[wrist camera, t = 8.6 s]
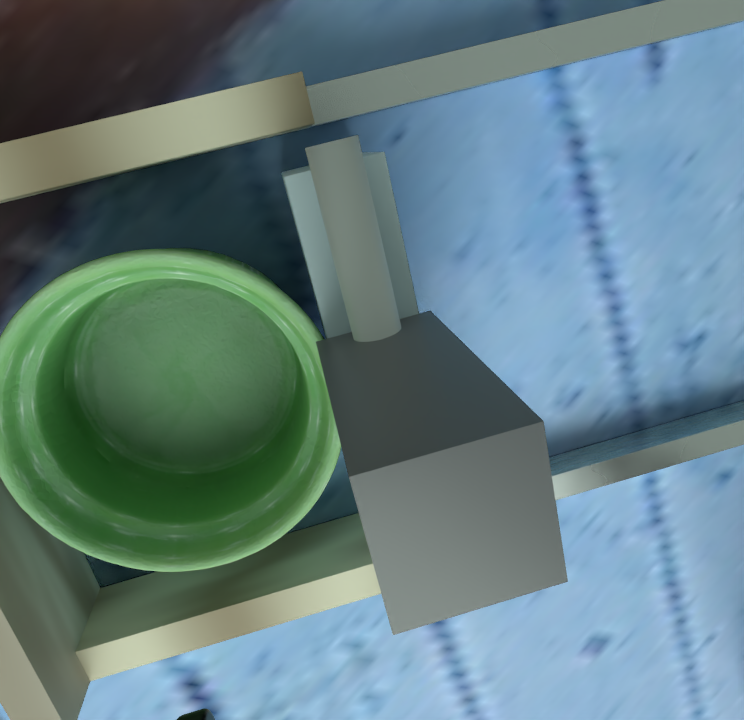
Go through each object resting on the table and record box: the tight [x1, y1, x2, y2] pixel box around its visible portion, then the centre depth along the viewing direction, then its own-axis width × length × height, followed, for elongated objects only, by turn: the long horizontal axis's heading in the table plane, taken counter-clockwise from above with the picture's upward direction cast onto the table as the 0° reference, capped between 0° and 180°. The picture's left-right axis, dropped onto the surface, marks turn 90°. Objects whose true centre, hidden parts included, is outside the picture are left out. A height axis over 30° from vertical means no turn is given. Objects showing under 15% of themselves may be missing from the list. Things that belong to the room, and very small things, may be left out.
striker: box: [281, 135, 568, 635], centre depth 15 cm, size 3×12×11 cm, turn 13°
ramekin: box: [0, 248, 341, 572], centre depth 18 cm, size 9×9×4 cm
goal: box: [0, 0, 744, 720], centre depth 18 cm, size 31×15×5 cm, turn 103°
